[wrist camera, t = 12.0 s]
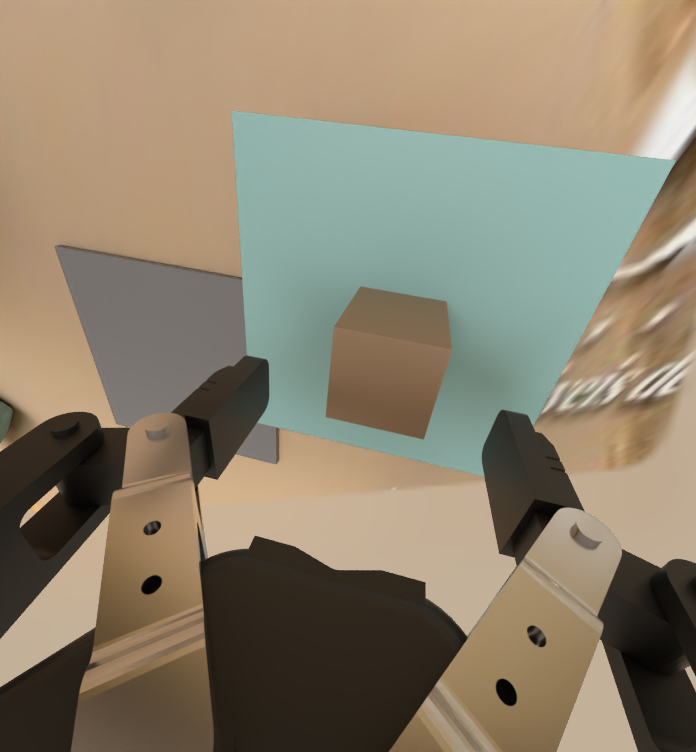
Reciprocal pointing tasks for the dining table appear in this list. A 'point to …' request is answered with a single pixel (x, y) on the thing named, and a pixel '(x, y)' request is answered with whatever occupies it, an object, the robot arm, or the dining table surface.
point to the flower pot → (4, 419)
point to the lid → (422, 275)
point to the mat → (159, 333)
